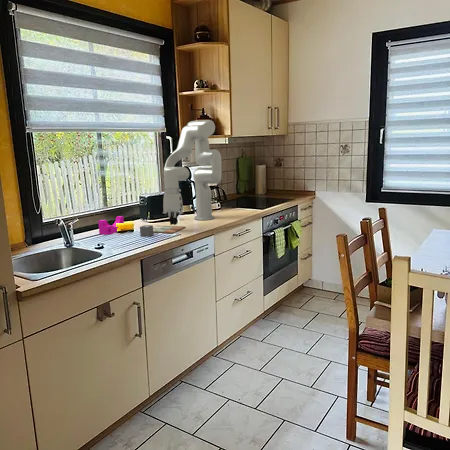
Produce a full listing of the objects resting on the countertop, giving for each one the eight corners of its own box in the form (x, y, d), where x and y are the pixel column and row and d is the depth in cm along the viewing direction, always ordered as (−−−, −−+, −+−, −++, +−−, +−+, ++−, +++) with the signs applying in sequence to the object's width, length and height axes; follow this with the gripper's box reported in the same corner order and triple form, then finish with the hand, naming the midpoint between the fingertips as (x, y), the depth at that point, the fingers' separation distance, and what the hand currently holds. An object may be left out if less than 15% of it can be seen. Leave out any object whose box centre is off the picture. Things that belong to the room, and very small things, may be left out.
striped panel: (157, 226, 246) (156, 225, 246) (185, 227, 240) (185, 226, 240) (141, 232, 231) (141, 231, 231) (172, 234, 224) (171, 232, 224)
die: (145, 234, 227) (144, 224, 226) (153, 234, 225) (152, 225, 224) (140, 236, 222) (139, 226, 221) (148, 236, 220) (148, 227, 219)
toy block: (107, 235, 229) (106, 221, 227) (99, 233, 232) (98, 220, 231) (127, 229, 241) (126, 216, 240) (119, 228, 244) (118, 216, 243)
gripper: (187, 190, 230) (189, 223, 233) (162, 190, 235) (164, 222, 239) (181, 192, 223) (183, 226, 226) (155, 191, 228) (158, 225, 232)
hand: (173, 224), depth 233 cm, fingers closed
